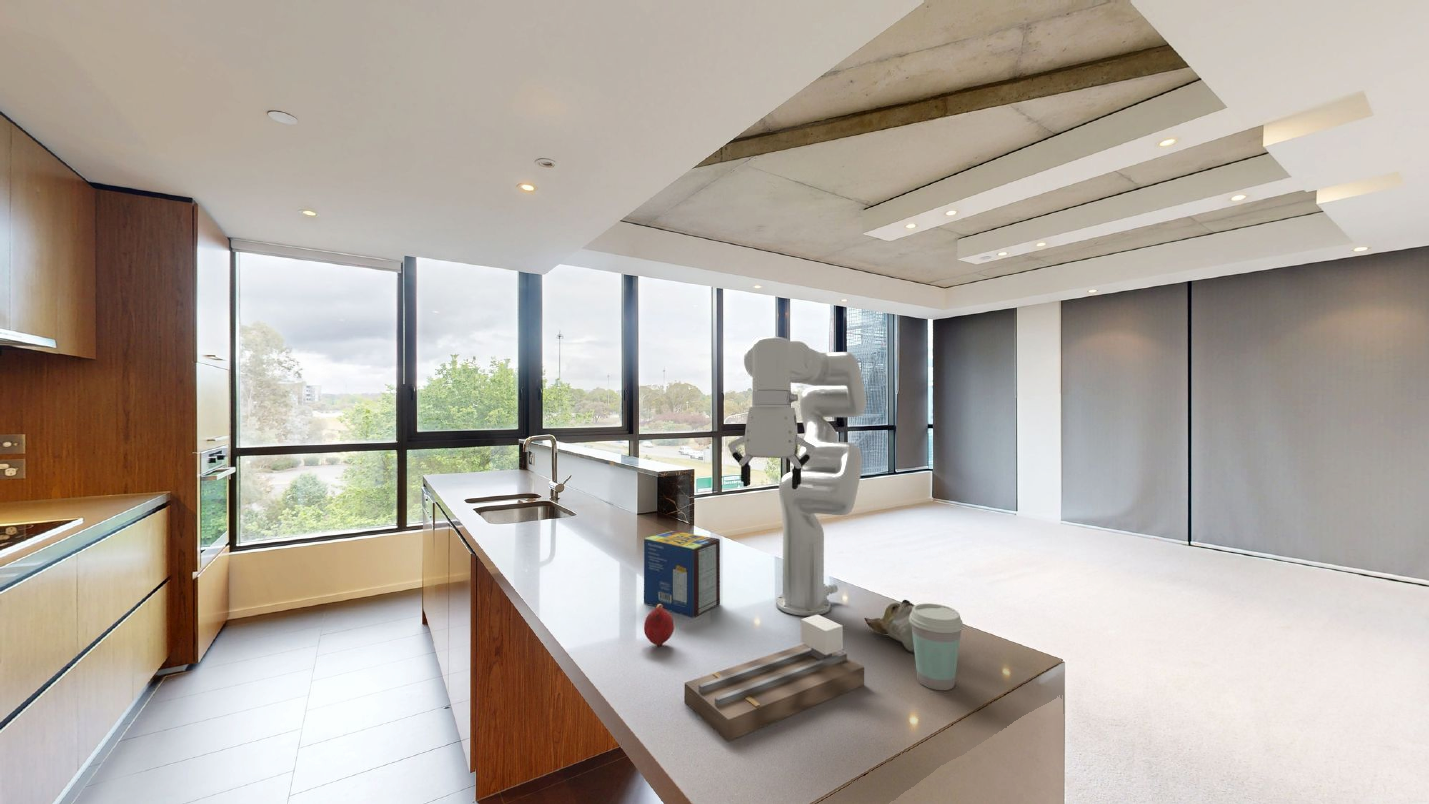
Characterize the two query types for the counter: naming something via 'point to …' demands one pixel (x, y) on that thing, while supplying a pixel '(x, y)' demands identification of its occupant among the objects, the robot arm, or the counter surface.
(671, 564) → the protein box
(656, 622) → the onion
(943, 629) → the coffee cup
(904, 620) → the ceramic sculpture
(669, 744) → the counter surface
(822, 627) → the white block
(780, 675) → the linear slide rail
